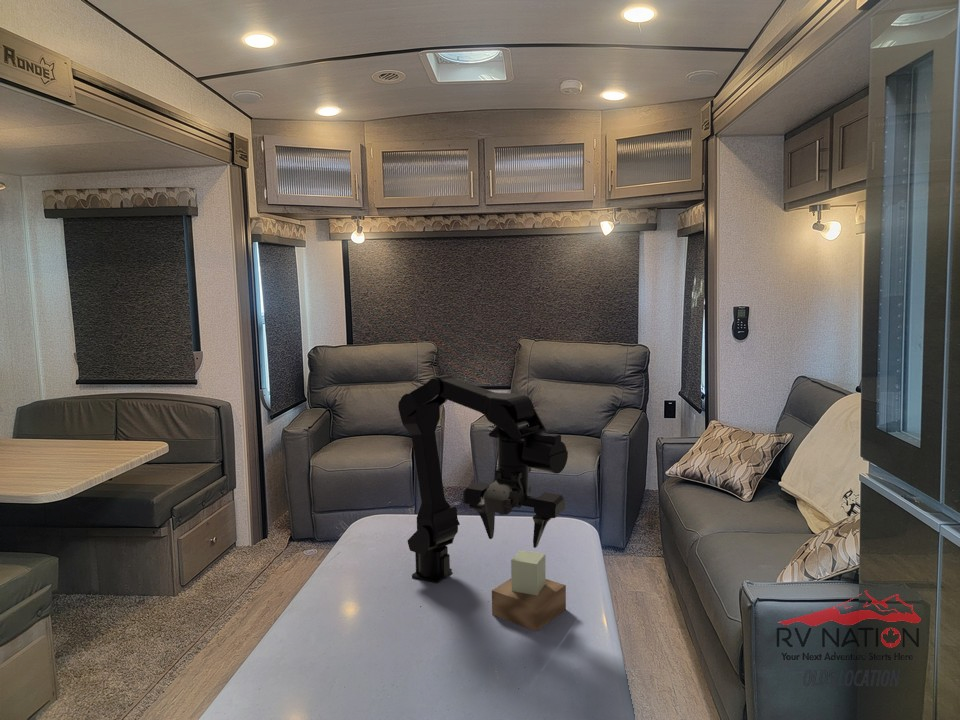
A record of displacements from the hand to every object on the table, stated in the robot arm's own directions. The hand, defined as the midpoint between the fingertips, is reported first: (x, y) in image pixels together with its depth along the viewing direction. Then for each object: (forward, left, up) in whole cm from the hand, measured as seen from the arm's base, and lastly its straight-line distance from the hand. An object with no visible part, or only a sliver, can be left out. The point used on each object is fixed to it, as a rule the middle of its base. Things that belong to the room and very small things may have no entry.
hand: (512, 542), depth 125 cm
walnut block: (+4, -1, -13) cm, 13 cm away
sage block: (+3, -1, -8) cm, 9 cm away
